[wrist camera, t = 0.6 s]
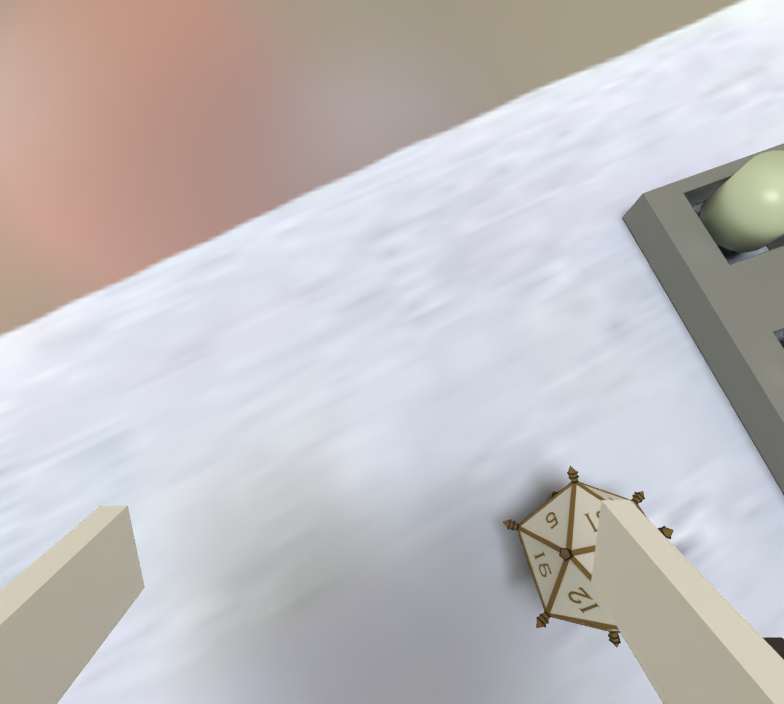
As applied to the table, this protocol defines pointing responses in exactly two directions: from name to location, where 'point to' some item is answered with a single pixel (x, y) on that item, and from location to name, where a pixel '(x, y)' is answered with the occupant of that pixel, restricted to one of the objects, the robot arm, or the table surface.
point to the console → (722, 301)
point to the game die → (569, 554)
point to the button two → (748, 205)
